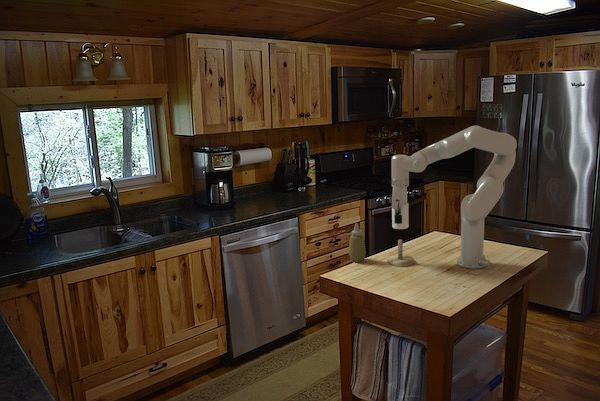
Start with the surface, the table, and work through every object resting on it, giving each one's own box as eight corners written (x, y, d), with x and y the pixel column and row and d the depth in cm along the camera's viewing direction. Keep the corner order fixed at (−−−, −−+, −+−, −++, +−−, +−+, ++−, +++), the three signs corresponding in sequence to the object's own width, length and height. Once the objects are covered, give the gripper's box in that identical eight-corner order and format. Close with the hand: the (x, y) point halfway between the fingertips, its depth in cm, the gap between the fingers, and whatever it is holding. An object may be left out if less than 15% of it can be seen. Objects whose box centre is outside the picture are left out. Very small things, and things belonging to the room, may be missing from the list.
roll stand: (419, 262, 220) (419, 240, 218) (400, 268, 213) (400, 245, 211) (399, 256, 230) (399, 235, 228) (381, 261, 223) (381, 240, 221)
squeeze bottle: (368, 259, 228) (368, 222, 224) (361, 264, 221) (360, 226, 217) (353, 256, 232) (352, 220, 228) (345, 261, 225) (344, 224, 222)
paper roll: (411, 227, 217) (411, 203, 215) (400, 229, 213) (400, 205, 211) (400, 224, 223) (399, 201, 221) (389, 227, 219) (389, 203, 217)
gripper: (396, 179, 223) (396, 216, 227) (386, 186, 208) (387, 225, 211) (412, 179, 220) (412, 217, 224) (404, 186, 205) (404, 226, 208)
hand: (400, 221), depth 217 cm, fingers closed on paper roll, 7 cm apart
